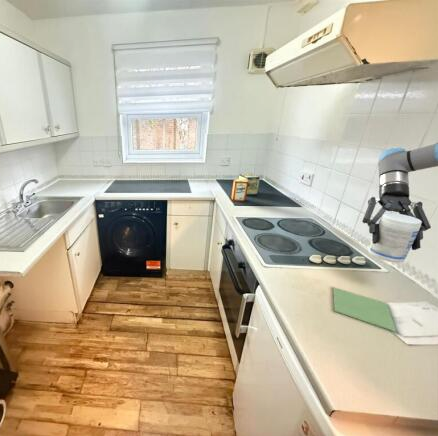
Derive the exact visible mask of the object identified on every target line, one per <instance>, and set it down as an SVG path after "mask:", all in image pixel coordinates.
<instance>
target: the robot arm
mask: <svg viewBox="0 0 438 436" xmlns="http://www.w3.org/2000/svg"><path fill="white" fill-rule="evenodd" d="M377 166H378V188H379V189H378V195H379V196H378V198H376V197H375V196H372V197H370V198H369V199H368V200H367V208H366V211H365V212H364V215H363V218H362V221H361V222H362V223H363V224H367V226H368V233H369V234H371V235H372V238H371V241H372V243H373V244H376V243H378V242H379V223H378V222H379V221H380V219H381V217H382V215H383V214H384V213H386V212H393V213H394V212H395V213H398V214H402V215H407V216H411V217H414V218H417V219H419V220H421V221H422V223H421V227H420V229H419V231H418V234H417V236H416V238H415V240H414V242H413V244H412V246H411V250H412V251H417V250H419V249H421V247H422V246H421V241H422V240H423V239H424V232H426V231H428V230H430V229H432V226H431V223H430V222H429V220H428V217H427V215H426V213H425V211H424V209H423V202H422V201H417V202H415V201H411V199H410V181H409V173H411V172H412V173H413V172H417V171H421V170H426V169H431V168H435V167H438V142H436V143H433V144H430V145H426V146H422V147H419V148H415V149H412V150H411V149H410V150H406V149H405V148H403V147H396V148H394V147H392V148H388V149H386V150H383V151H382V152H381V153H380V154H379V156H378V164H377ZM377 204H379V205H380V206H381V208H380V209H379V210H378V211H377V212H376V214H375V215H374V216H373V217H372V215H373V212H374V210H375V207H376V205H377ZM411 210H412V211H411ZM371 218H372V219H371Z"/></svg>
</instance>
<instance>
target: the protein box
mask: <svg viewBox="0 0 438 436" xmlns="http://www.w3.org/2000/svg"><path fill="white" fill-rule="evenodd" d="M260 178H261V177H260V176H257V175H255V174H253V173H239V176H238V179H241V180H247V181H248V188H247V194H246V197H247V196H250V197H251V196H258V195H257V194H258V190H259V186H260Z"/></svg>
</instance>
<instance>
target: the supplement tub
mask: <svg viewBox="0 0 438 436" xmlns="http://www.w3.org/2000/svg"><path fill="white" fill-rule="evenodd" d="M421 223H422V221H421V220H419V219H417V218H414V217H411V216H407V215H402V214H399V213H397V212H395V213H394V212H385V213H384V214H383V215H382V216H381V217H380V219H379V220H378V224H379V242H378V243H376V244H373V243H372V240H371V241H370V243H369V246H368V249H367V250H368V253H369V254H370V255H372V257H374V258H377V259H379V260H382V261H385V262H390V263H403V262H405V261H406V259H407V257H408V254H409V252H410V250H411V249H412V244H413V242H414V240H415V238H416V236H417V234H418V231H419V229H420V227H421Z"/></svg>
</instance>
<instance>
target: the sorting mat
mask: <svg viewBox="0 0 438 436" xmlns="http://www.w3.org/2000/svg"><path fill="white" fill-rule="evenodd" d="M333 304H334V305H333V306H334V312H335V313H339V314H342V315H344V316H347V317H349V318H353V319H355V320H359V321H361V322H365V323H368V324H371V325H374V326H376V327H379V328H383V329H385V330H388V331H391V332H394V333H397V329H396V326H395V323H394V319H393V318H392V315H391V311H390V309H389V308H390V307H389V305H388V303H386V302H382V301H380V300H376V299H373V298H370V297H366V296H362V295H360V294H356V293H353V292H350V291H346V290H343V289H339V288H336V287H333Z"/></svg>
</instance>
